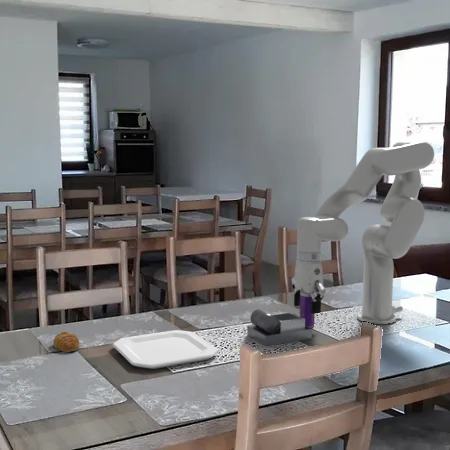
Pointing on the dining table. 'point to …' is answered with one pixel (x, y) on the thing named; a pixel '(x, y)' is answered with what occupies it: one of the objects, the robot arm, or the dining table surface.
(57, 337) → the pastry
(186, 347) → the plate
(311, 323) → the container
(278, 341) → the block
